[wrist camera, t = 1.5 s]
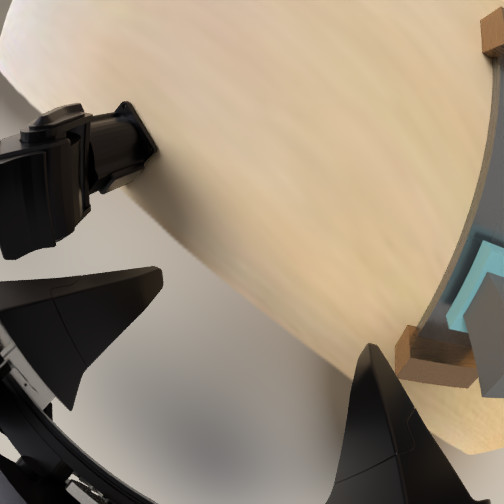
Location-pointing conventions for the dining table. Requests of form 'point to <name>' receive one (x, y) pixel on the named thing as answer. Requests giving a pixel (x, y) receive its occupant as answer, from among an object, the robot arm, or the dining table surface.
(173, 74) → the dining table surface
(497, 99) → the rail
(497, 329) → the grey teal block
